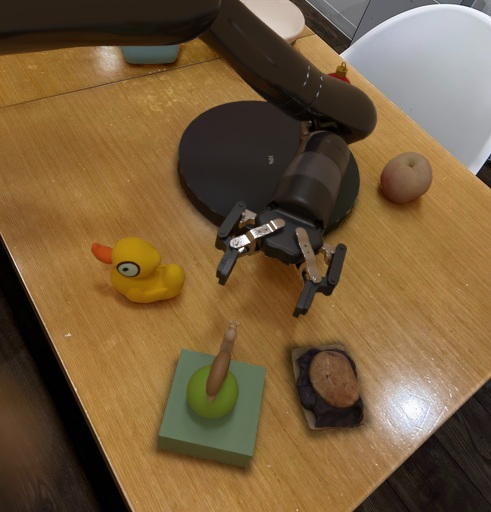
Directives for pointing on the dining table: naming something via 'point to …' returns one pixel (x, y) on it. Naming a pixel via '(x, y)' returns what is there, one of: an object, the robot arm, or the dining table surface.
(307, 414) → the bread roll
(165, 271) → the duckling
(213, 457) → the green block
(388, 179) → the fruit
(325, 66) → the dining table surface
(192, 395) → the snail figurine
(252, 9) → the bowl
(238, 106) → the disc
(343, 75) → the christmas ornament
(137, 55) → the teapot
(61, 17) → the robot arm
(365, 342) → the dining table surface
